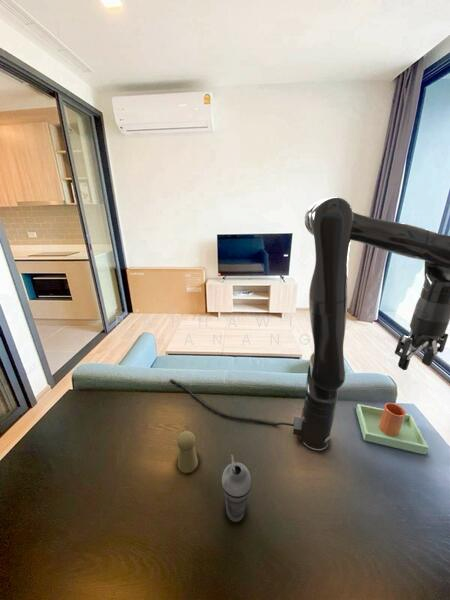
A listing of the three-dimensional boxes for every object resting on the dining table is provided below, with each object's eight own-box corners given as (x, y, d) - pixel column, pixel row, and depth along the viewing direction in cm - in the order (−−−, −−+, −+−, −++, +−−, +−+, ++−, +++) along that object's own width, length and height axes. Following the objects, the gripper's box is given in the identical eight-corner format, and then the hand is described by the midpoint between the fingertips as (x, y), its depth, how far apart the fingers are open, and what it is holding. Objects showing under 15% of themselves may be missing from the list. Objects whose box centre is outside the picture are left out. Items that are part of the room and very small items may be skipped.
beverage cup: (248, 532, 58) (251, 475, 51) (218, 524, 60) (217, 468, 53) (251, 498, 65) (254, 444, 58) (224, 492, 66) (224, 439, 59)
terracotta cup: (381, 434, 83) (387, 413, 80) (376, 420, 88) (382, 401, 85) (401, 438, 82) (408, 418, 78) (395, 424, 87) (402, 404, 84)
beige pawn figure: (201, 458, 76) (200, 432, 72) (191, 476, 70) (189, 449, 67) (185, 450, 78) (183, 424, 74) (173, 467, 73) (171, 440, 69)
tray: (363, 440, 82) (365, 433, 81) (356, 410, 94) (357, 403, 93) (425, 454, 77) (428, 447, 76) (408, 421, 89) (411, 414, 88)
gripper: (437, 307, 70) (421, 355, 75) (397, 312, 67) (383, 362, 72) (467, 318, 63) (446, 370, 69) (423, 324, 60) (405, 378, 65)
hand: (414, 366), depth 70 cm, fingers open, 8 cm apart
